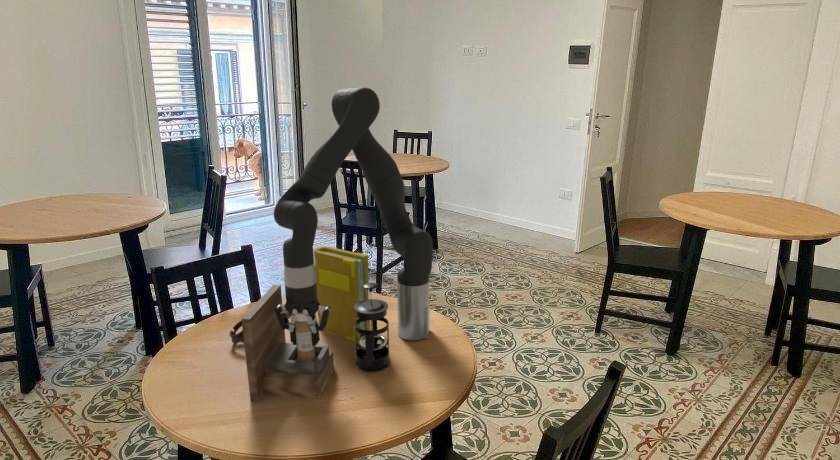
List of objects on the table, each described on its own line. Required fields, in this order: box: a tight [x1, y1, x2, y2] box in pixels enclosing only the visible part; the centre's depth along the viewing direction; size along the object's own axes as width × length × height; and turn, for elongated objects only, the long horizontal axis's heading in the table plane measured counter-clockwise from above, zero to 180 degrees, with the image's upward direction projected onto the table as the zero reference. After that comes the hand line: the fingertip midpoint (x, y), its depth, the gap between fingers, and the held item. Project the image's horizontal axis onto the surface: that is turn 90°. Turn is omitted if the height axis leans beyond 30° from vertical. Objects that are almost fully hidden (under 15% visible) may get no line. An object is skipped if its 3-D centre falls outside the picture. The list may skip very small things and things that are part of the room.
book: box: [313, 245, 371, 342], centre depth 161 cm, size 17×7×25 cm, turn 58°
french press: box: [354, 282, 391, 373], centre depth 142 cm, size 12×9×23 cm
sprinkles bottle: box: [295, 313, 316, 361], centre depth 134 cm, size 5×5×13 cm
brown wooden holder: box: [241, 284, 335, 403], centre depth 135 cm, size 16×20×22 cm
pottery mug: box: [229, 319, 244, 344], centre depth 158 cm, size 12×10×8 cm
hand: (305, 343), depth 135 cm, fingers closed on sprinkles bottle, 4 cm apart
